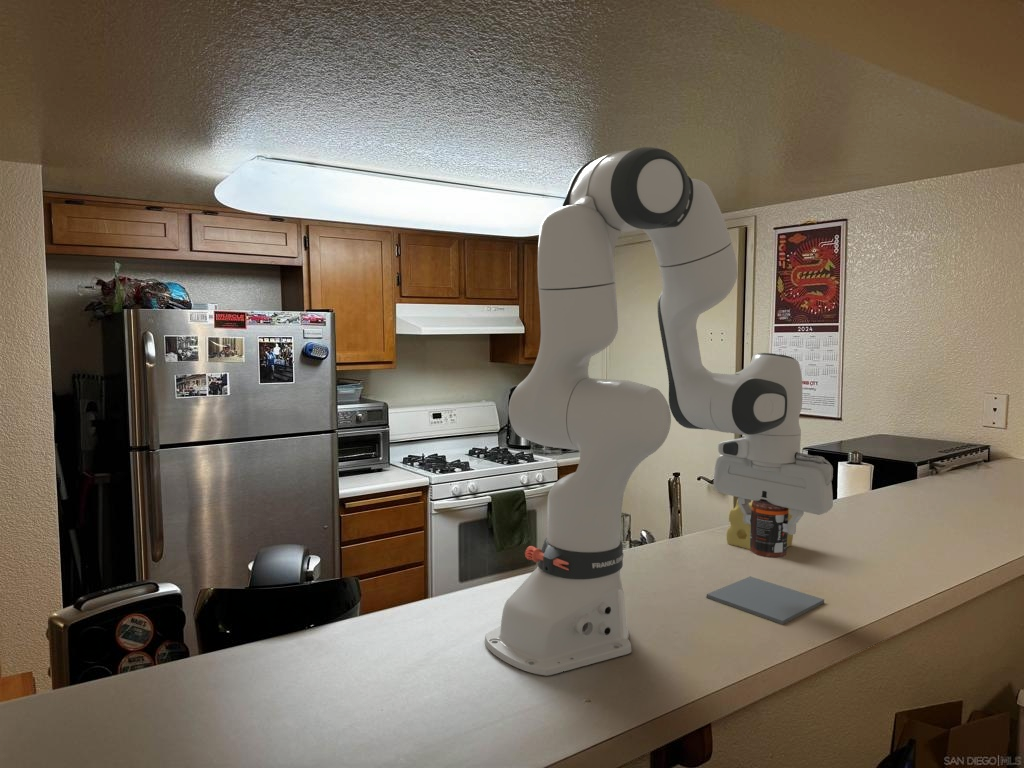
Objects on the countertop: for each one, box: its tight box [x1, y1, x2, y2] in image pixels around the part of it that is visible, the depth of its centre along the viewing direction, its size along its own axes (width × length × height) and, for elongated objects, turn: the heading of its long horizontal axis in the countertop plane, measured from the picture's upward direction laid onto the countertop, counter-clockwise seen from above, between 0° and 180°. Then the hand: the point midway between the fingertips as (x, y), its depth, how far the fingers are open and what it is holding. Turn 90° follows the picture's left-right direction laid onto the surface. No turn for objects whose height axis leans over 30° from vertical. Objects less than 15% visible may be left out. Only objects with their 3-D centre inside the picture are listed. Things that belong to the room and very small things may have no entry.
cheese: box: [726, 499, 794, 550], centre depth 149 cm, size 10×11×10 cm
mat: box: [706, 576, 825, 625], centre depth 118 cm, size 14×14×1 cm
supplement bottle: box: [749, 491, 788, 559], centre depth 117 cm, size 6×6×11 cm
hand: (768, 528), depth 117 cm, fingers closed on supplement bottle, 6 cm apart
